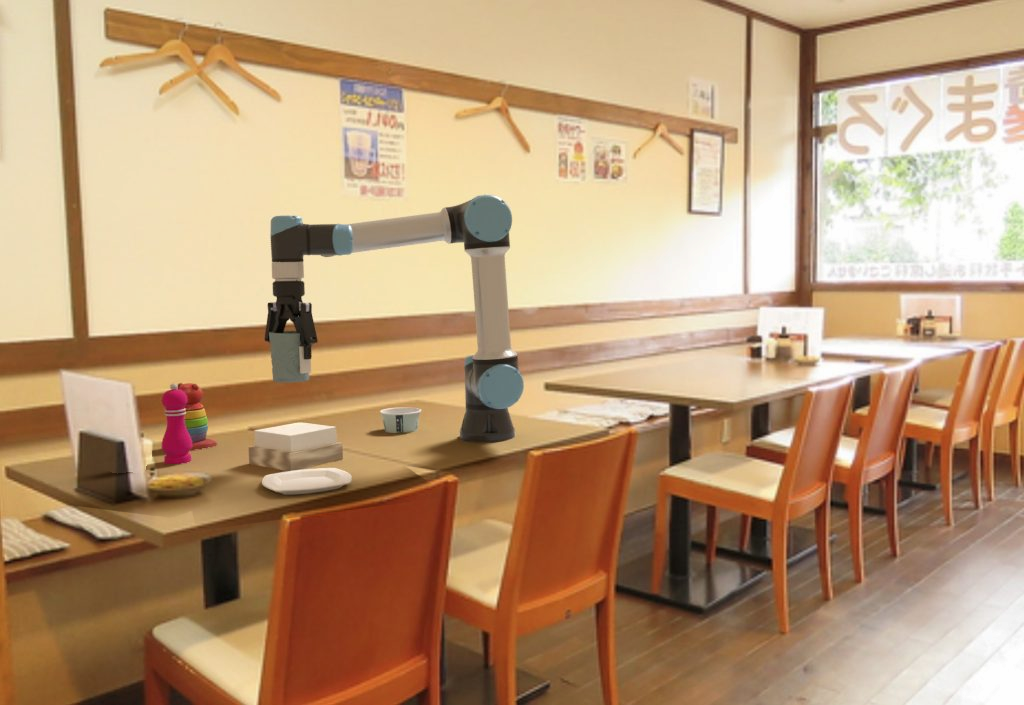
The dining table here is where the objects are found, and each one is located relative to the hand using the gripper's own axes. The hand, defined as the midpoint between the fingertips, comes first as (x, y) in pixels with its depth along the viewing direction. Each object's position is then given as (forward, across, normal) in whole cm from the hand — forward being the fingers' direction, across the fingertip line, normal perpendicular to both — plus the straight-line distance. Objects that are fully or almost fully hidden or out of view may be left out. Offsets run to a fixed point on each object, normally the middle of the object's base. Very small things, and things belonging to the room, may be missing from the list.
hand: (291, 371), depth 216 cm
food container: (+23, +7, -44) cm, 50 cm away
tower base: (+23, 0, 0) cm, 23 cm away
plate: (+23, -21, +14) cm, 34 cm away
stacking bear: (+23, +40, +3) cm, 46 cm away
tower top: (+18, 0, 0) cm, 18 cm away
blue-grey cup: (+2, 0, 0) cm, 2 cm away
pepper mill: (+23, +26, +16) cm, 38 cm away
